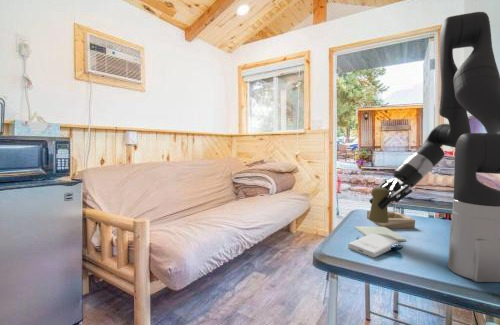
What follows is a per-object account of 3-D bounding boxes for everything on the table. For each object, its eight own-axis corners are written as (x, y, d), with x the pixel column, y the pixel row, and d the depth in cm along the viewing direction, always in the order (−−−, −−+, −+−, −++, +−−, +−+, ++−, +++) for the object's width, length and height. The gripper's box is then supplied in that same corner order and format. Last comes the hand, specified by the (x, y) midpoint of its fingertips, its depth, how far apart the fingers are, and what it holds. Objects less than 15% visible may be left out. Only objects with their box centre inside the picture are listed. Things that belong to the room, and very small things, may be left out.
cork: (392, 223, 85) (394, 189, 84) (373, 222, 85) (375, 189, 85) (383, 217, 91) (384, 186, 91) (365, 217, 92) (367, 186, 91)
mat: (405, 241, 83) (405, 239, 83) (371, 240, 83) (371, 238, 83) (385, 228, 95) (385, 226, 95) (355, 228, 95) (355, 226, 94)
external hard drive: (398, 246, 77) (374, 258, 70) (371, 237, 83) (347, 247, 76) (398, 241, 76) (374, 252, 70) (372, 232, 83) (347, 242, 76)
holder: (414, 228, 96) (415, 219, 96) (382, 227, 96) (382, 219, 96) (395, 218, 108) (396, 211, 108) (366, 218, 108) (367, 210, 108)
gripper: (393, 160, 94) (358, 193, 95) (420, 163, 80) (378, 202, 81) (406, 175, 95) (372, 207, 95) (435, 181, 80) (394, 219, 81)
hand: (375, 205), depth 88 cm, fingers closed on cork, 5 cm apart
